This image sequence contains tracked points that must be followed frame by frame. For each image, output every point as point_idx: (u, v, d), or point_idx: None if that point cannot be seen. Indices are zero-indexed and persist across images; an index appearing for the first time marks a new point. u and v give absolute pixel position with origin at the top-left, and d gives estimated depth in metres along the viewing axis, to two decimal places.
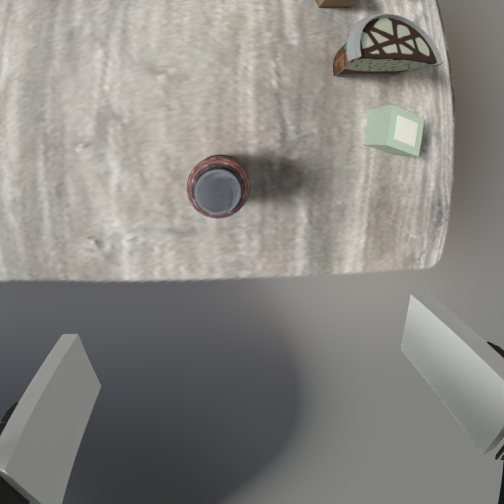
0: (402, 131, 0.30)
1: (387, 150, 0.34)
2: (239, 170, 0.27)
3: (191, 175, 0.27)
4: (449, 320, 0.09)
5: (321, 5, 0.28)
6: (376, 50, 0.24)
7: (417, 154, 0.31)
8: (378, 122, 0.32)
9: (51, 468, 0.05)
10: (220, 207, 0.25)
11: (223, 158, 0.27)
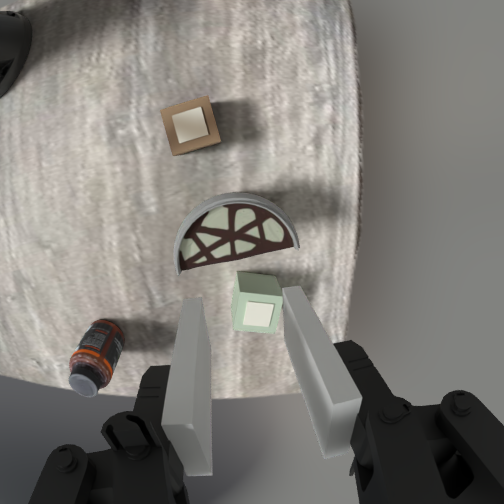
0: (252, 316, 0.34)
1: None
2: (98, 366, 0.31)
3: (69, 363, 0.31)
4: (303, 314, 0.10)
5: (180, 154, 0.32)
6: (202, 257, 0.28)
7: (273, 331, 0.35)
8: (235, 298, 0.36)
9: (206, 423, 0.08)
10: (87, 393, 0.30)
11: (86, 356, 0.31)
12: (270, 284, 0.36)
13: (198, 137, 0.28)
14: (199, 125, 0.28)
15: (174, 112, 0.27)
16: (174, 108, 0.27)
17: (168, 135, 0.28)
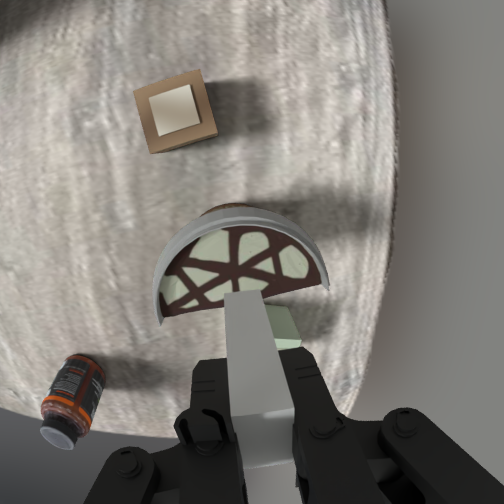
0: None
1: None
2: (72, 417, 0.22)
3: (41, 410, 0.22)
4: (255, 318, 0.10)
5: None
6: (193, 300, 0.19)
7: None
8: None
9: None
10: (63, 446, 0.21)
11: (57, 405, 0.22)
12: (282, 320, 0.28)
13: (185, 127, 0.19)
14: (186, 110, 0.19)
15: (152, 93, 0.18)
16: (152, 87, 0.18)
17: (144, 125, 0.19)
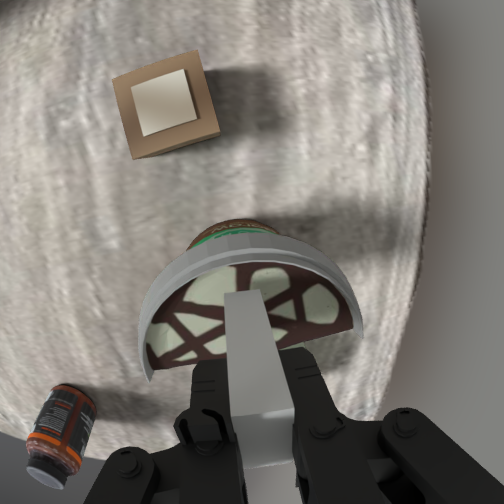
0: None
1: None
2: (60, 457, 0.18)
3: None
4: (255, 318, 0.10)
5: (152, 156, 0.19)
6: (189, 352, 0.14)
7: None
8: None
9: None
10: (52, 485, 0.16)
11: (43, 444, 0.17)
12: None
13: (177, 124, 0.15)
14: (179, 102, 0.14)
15: (135, 81, 0.14)
16: (136, 74, 0.13)
17: (124, 122, 0.14)
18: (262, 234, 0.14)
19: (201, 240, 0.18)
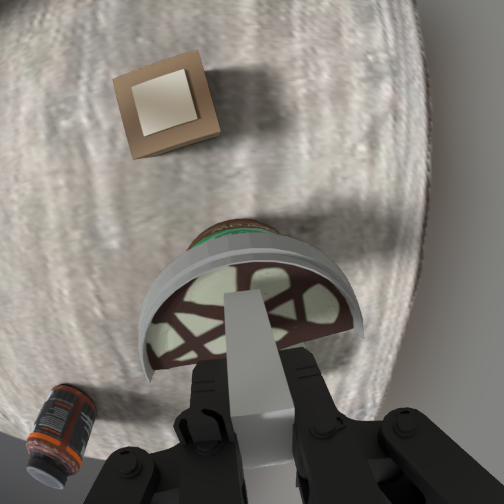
0: None
1: None
2: (60, 457, 0.18)
3: None
4: (255, 318, 0.10)
5: (152, 156, 0.19)
6: (190, 352, 0.14)
7: None
8: None
9: None
10: (52, 485, 0.16)
11: (43, 444, 0.17)
12: None
13: (178, 124, 0.15)
14: (180, 102, 0.14)
15: (136, 81, 0.14)
16: (137, 74, 0.13)
17: (125, 122, 0.14)
18: (262, 234, 0.14)
19: (201, 240, 0.18)
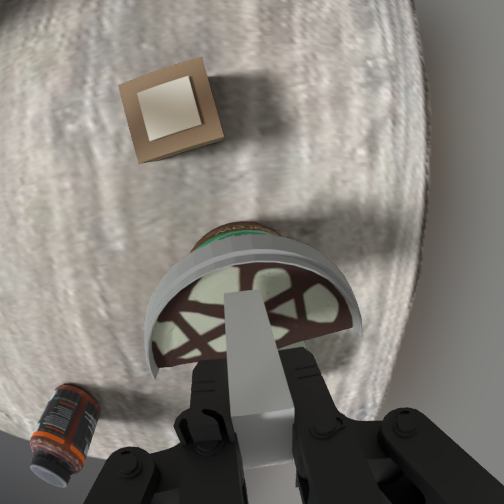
0: None
1: None
2: (63, 455, 0.18)
3: (30, 445, 0.18)
4: (255, 318, 0.10)
5: (157, 160, 0.20)
6: (194, 350, 0.15)
7: None
8: None
9: None
10: (55, 484, 0.17)
11: (47, 442, 0.18)
12: None
13: (182, 130, 0.15)
14: (184, 108, 0.15)
15: (141, 87, 0.14)
16: (142, 80, 0.14)
17: (131, 127, 0.15)
18: (264, 236, 0.14)
19: (205, 242, 0.19)
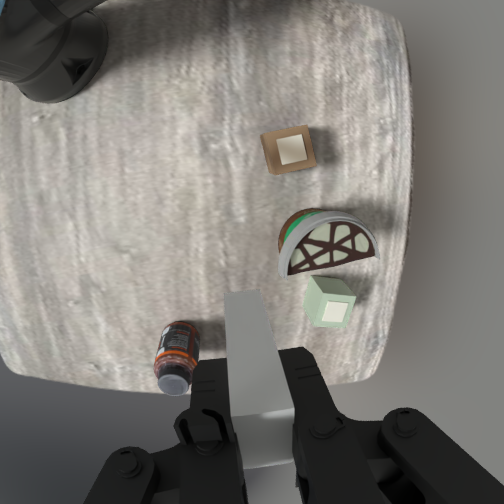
0: (330, 313, 0.39)
1: None
2: (188, 365, 0.36)
3: (155, 365, 0.36)
4: (255, 318, 0.10)
5: (271, 172, 0.38)
6: (306, 264, 0.33)
7: (344, 326, 0.40)
8: (313, 298, 0.41)
9: None
10: (175, 393, 0.35)
11: (176, 356, 0.36)
12: (341, 286, 0.42)
13: (298, 161, 0.33)
14: (299, 150, 0.33)
15: (278, 136, 0.32)
16: (278, 133, 0.32)
17: (272, 156, 0.33)
18: (338, 211, 0.33)
19: (301, 216, 0.37)
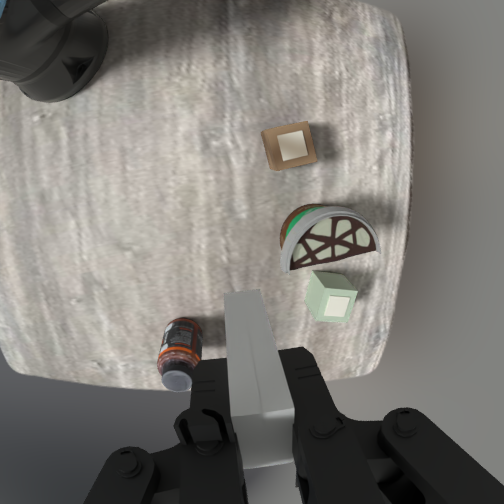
0: (332, 308, 0.39)
1: None
2: (192, 361, 0.36)
3: (159, 361, 0.36)
4: (255, 318, 0.10)
5: (272, 168, 0.38)
6: (308, 259, 0.33)
7: (346, 321, 0.41)
8: (315, 293, 0.41)
9: None
10: (179, 389, 0.35)
11: (179, 352, 0.36)
12: (342, 281, 0.42)
13: (299, 157, 0.34)
14: (300, 146, 0.33)
15: (278, 132, 0.33)
16: (279, 129, 0.32)
17: (273, 152, 0.33)
18: (339, 206, 0.33)
19: (302, 212, 0.37)
